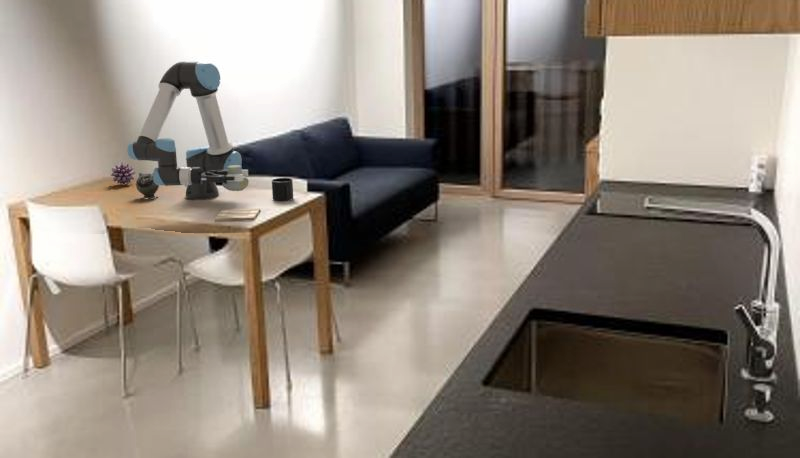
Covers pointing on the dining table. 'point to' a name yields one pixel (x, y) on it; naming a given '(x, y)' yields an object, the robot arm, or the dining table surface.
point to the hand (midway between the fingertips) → (245, 175)
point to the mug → (282, 189)
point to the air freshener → (235, 184)
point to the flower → (122, 173)
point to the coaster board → (237, 214)
